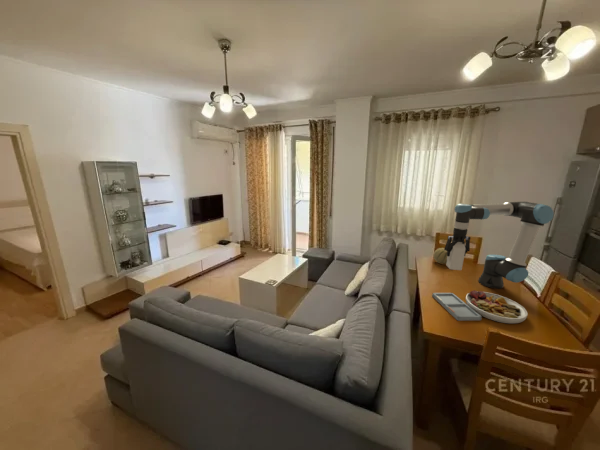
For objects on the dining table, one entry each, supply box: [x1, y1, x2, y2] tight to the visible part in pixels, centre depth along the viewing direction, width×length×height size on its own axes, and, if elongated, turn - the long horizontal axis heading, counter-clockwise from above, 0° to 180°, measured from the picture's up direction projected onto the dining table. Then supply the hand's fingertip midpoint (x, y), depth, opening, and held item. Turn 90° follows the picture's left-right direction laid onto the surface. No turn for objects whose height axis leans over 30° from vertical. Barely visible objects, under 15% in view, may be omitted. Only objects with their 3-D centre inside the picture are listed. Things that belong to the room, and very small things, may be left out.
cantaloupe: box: [433, 247, 447, 265], centre depth 221 cm, size 15×15×15 cm
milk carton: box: [445, 241, 466, 271], centre depth 162 cm, size 7×7×19 cm
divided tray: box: [431, 292, 483, 322], centre depth 154 cm, size 14×27×3 cm, turn 1°
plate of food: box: [465, 290, 528, 325], centre depth 150 cm, size 30×30×8 cm
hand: (454, 260), depth 163 cm, fingers closed on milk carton, 8 cm apart
